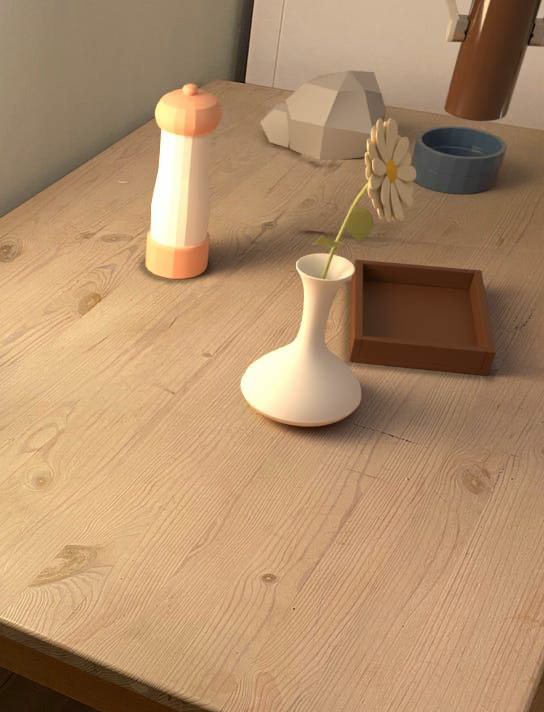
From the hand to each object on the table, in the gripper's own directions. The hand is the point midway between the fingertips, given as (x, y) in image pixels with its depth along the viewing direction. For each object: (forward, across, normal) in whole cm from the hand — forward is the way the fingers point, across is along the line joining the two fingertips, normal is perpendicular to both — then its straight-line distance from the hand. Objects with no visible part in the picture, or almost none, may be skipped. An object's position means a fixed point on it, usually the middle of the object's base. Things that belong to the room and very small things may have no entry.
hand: (495, 42), depth 84 cm
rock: (+26, -10, +50) cm, 57 cm away
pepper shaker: (+26, -27, +7) cm, 39 cm away
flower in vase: (+26, -11, -19) cm, 34 cm away
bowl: (+26, +6, +38) cm, 46 cm away
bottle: (+6, 0, 0) cm, 6 cm away
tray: (+26, 0, -2) cm, 26 cm away
